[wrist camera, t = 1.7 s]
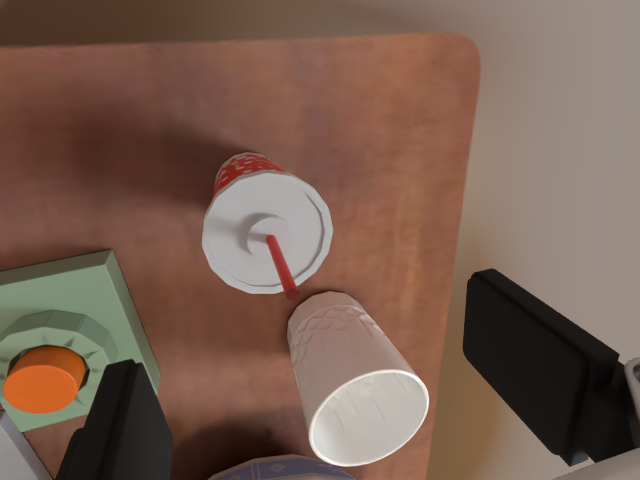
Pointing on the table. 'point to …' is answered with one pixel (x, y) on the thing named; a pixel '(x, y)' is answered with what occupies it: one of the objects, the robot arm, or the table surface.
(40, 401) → the button
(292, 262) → the beverage cup
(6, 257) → the table surface
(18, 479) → the coffee maker
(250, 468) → the ramen bowl
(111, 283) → the brew pad
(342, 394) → the white cup
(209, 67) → the table surface
